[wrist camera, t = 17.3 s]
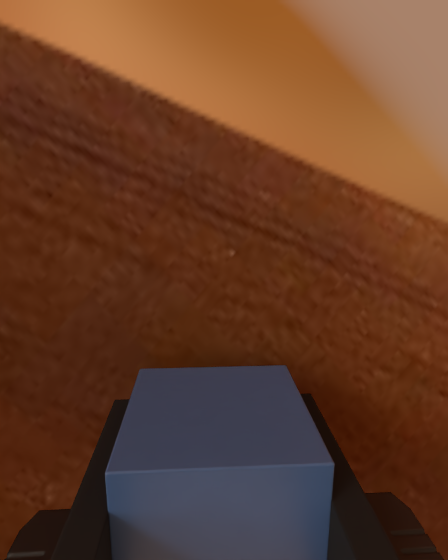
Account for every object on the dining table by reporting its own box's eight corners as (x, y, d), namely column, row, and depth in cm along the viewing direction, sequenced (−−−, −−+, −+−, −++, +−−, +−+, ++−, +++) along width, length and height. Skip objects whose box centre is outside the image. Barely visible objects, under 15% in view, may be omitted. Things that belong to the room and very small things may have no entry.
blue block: (139, 368, 12) (103, 473, 7) (286, 364, 12) (335, 463, 8) (145, 494, 13) (118, 653, 8) (281, 488, 13) (322, 638, 9)
